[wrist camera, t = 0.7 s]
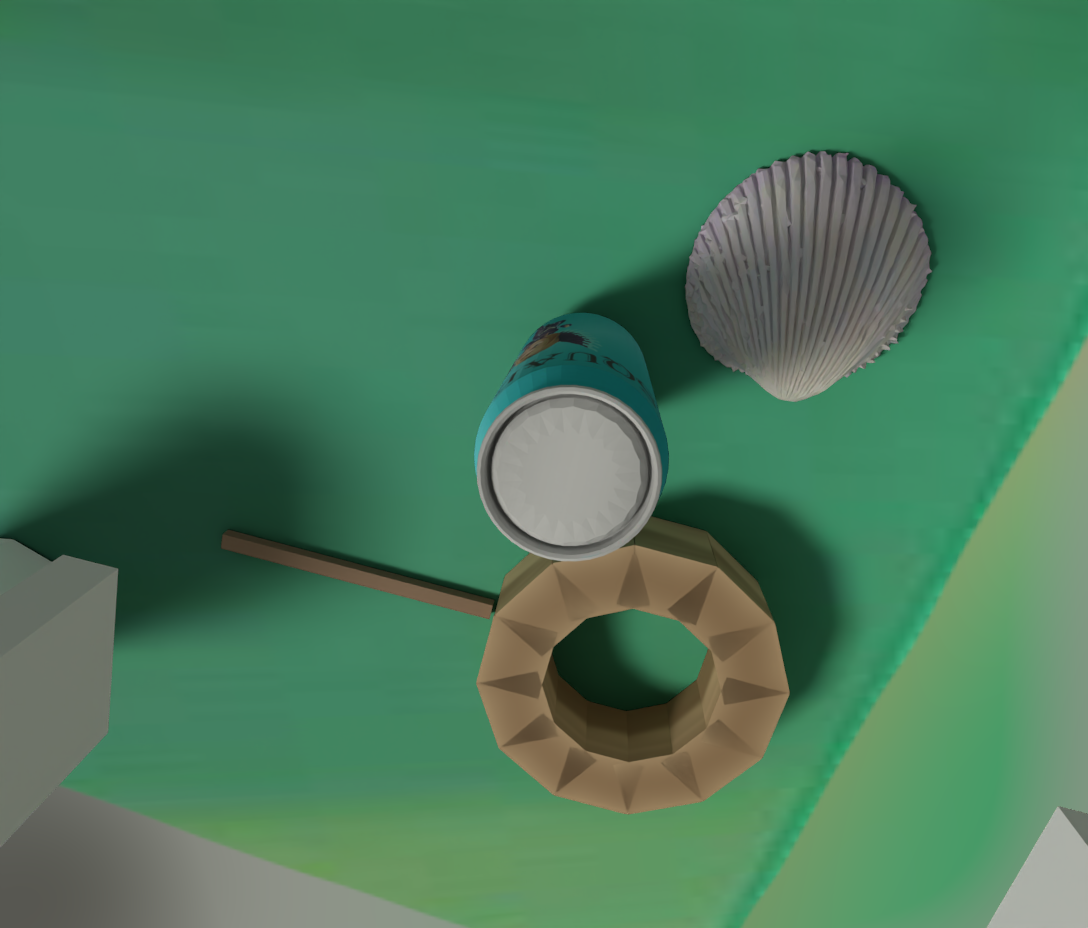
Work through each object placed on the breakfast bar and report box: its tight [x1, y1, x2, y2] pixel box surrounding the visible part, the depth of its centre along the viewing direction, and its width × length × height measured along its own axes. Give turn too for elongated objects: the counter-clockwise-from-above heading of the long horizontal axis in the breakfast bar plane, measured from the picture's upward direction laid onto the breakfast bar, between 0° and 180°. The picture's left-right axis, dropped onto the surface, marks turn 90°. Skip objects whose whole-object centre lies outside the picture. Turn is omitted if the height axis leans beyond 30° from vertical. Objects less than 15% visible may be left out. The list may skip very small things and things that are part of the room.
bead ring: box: [476, 516, 790, 814], centre depth 38 cm, size 14×14×4 cm
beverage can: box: [474, 313, 669, 561], centre depth 29 cm, size 6×6×15 cm
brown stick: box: [221, 530, 494, 619], centre depth 39 cm, size 1×14×1 cm, turn 76°
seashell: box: [685, 151, 932, 402], centre depth 33 cm, size 10×6×10 cm
